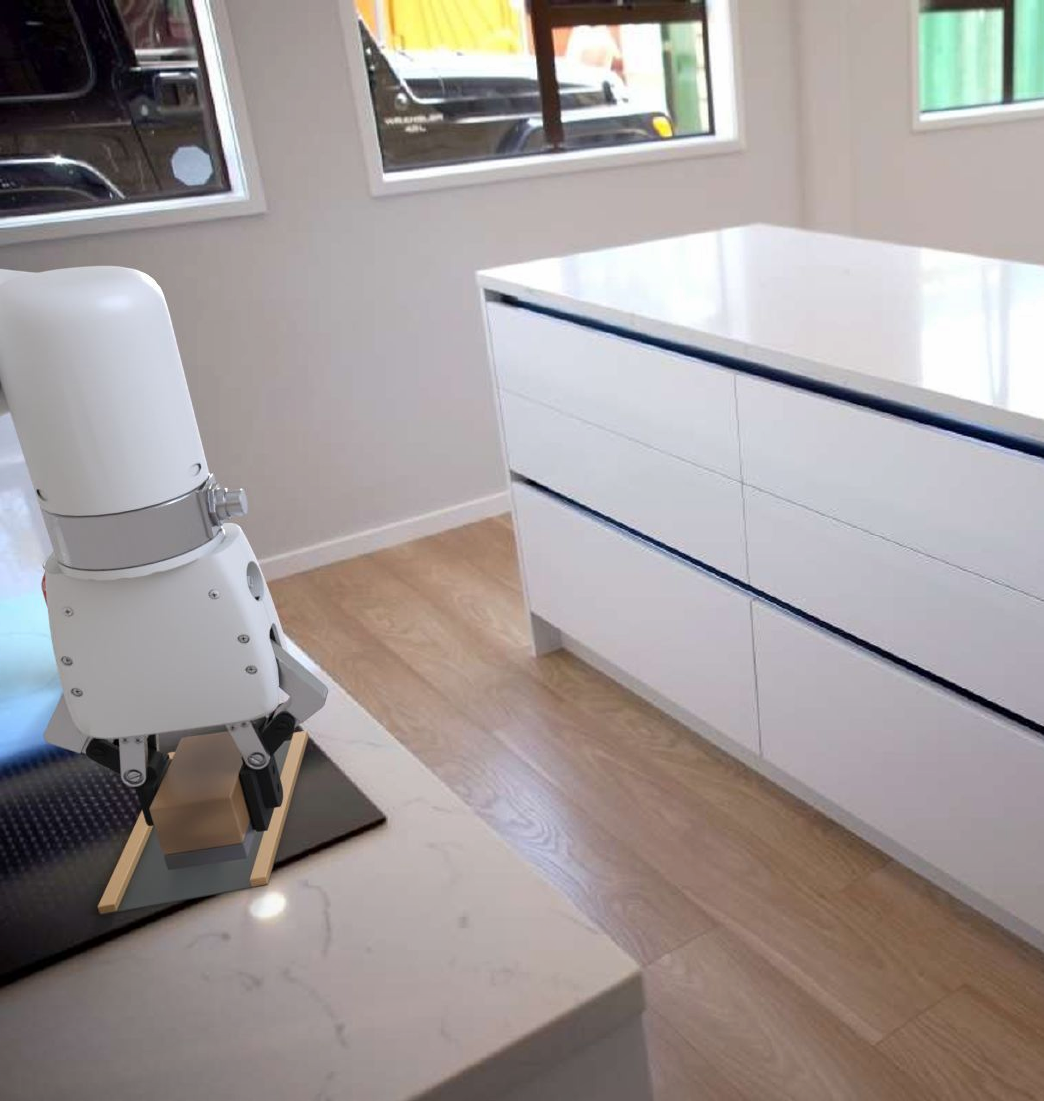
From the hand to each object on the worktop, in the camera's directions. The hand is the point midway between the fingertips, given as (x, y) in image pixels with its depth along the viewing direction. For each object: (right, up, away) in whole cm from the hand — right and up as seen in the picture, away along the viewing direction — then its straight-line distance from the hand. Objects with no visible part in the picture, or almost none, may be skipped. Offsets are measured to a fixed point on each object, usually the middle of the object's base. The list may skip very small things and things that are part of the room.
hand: (220, 821), depth 70 cm
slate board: (-9, -5, +18) cm, 21 cm away
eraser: (0, 0, 0) cm, 0 cm away
